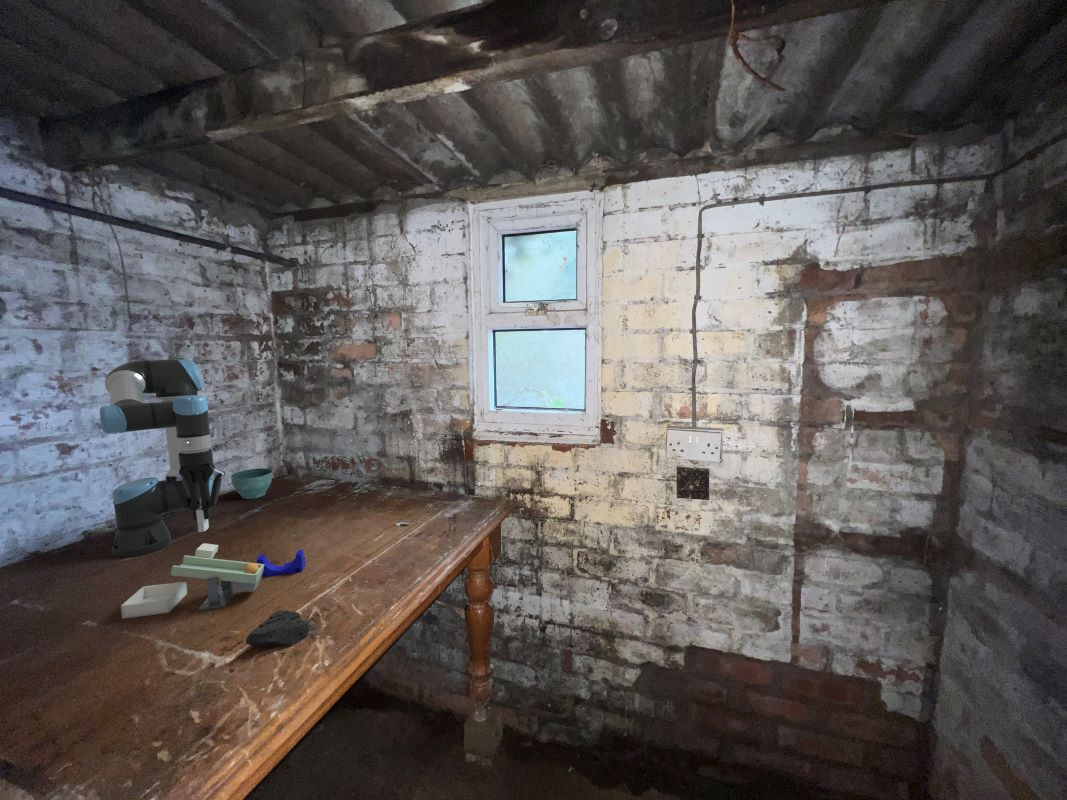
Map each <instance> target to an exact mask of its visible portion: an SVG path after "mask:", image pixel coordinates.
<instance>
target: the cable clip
mask: <svg viewBox="0 0 1067 800" xmlns="http://www.w3.org/2000/svg"><path fill="white" fill-rule="evenodd" d="M304 554H305V553H304V549H299V550H297V551H296V553H295V558H294V559H293V560H291V561H289V562H286V563H283V565H275V564H272V563H271V562H270V561H269V560H268V558H267V557H266V554H259V555H258V557H257V558H256V563H257V564H265V565H264V570H263V573H262V576H261V578H267V576H268V577H274V576H280V575H288V574H296V573H301V572H303V571H304V569H305V567H306V556H305V555H304ZM263 576H264V577H263Z"/></svg>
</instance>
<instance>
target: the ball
mask: <svg viewBox="0 0 1067 800" xmlns="http://www.w3.org/2000/svg"><path fill="white" fill-rule="evenodd" d="M249 563H250V564H248V565H246V567H245V568H244V573H250V574H255V573H256V572H257V571H258V569H259V567H258V565H257V564H256V563H257V562H256V563H255V562H249Z"/></svg>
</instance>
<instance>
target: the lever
mask: <svg viewBox="0 0 1067 800" xmlns="http://www.w3.org/2000/svg"><path fill="white" fill-rule="evenodd" d="M218 549H219V544H213V543H212V544H211V543H206V542H205V543H202V544H200V546H199V547H198V546H197V548H196V549H195V554H194V556H193V555H184V556H183V557H182V562H181V564H180V565H172V567H171V571H170V572H171V573H170V576H173V577H175V576H176V577H183V578H193V579H194V578H195V579H204V580H207V579H208V578H217V577H218V581H221V580H223V581H232V583H233V582H234V583H233V584H234V589H233V590H237V591H240V592H251V593H252V592H255V590H256V589H257V588H258V586H259V585H260V583H261V580H262V577H261V576H262V573H263V570H264V565H265V564H257V562H256V564H257V565H258V567H259V569H258V571H257V572H256V573H255V574H250V573H244V568H245V567H246V565H248V564H250V563H251V562H246V561H237V560H229V559H220V558H219V559H218V558H214V557H215V555H216V554H217V552H218Z"/></svg>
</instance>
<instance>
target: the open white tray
mask: <svg viewBox="0 0 1067 800" xmlns="http://www.w3.org/2000/svg"><path fill="white" fill-rule="evenodd" d="M187 594H188V587H187V581H180V582H179V581H177V582H172V583H170V582H169V583H162V584H153V585H147V586H146V585H145V586H142V587H141V588H140V589H138V590H137V591H136V592H134V594H133V595H132V596H131V597H129V598H128V599H126V601H124V602H123V603H122V604H121V605H120V612H121V619H123V620H124V619H130V618H139V617H145V616H152V615H153V616H154V615H162V614H168V613H170V612H171V611H172V610H173V609H174V608H175V607H176V606H177V605H178V604H179V603H180V602H181V601H182V600H183V598H185V597H186V595H187Z"/></svg>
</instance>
